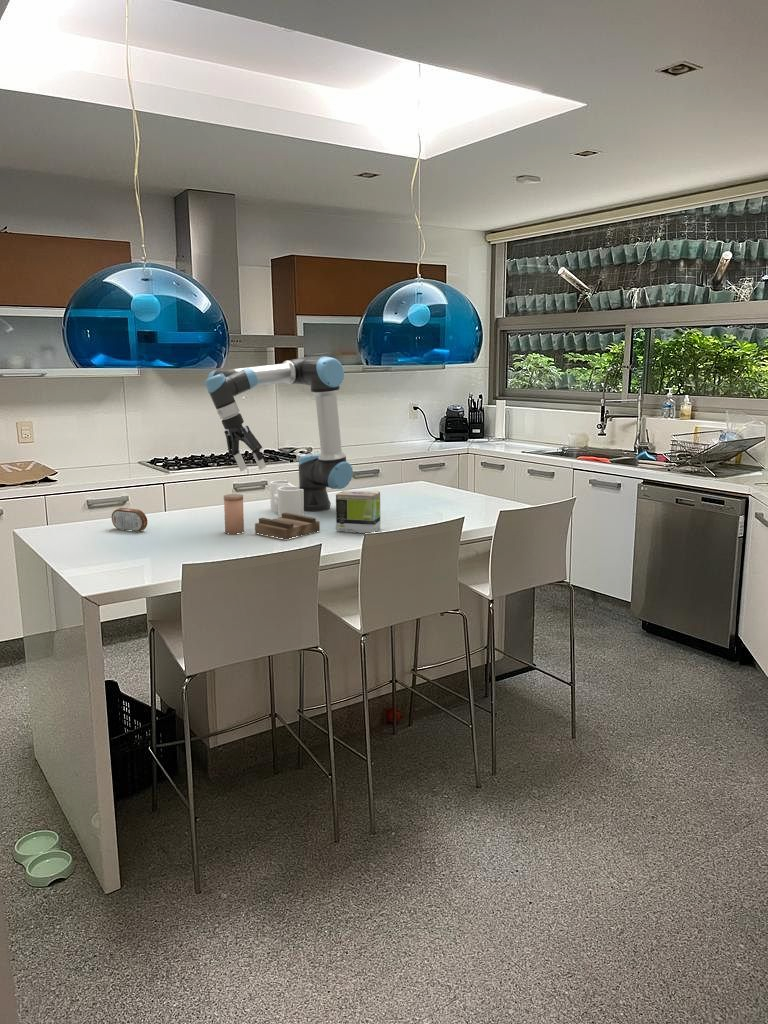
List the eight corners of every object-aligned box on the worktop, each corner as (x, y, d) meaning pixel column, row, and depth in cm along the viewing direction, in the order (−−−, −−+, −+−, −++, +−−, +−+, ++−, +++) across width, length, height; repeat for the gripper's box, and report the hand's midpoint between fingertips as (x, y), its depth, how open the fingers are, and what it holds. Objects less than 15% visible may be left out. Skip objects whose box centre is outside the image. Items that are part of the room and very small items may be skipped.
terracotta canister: (235, 529, 306) (234, 493, 303) (248, 532, 302) (247, 495, 299) (220, 532, 300) (219, 496, 297) (233, 535, 296) (232, 498, 293)
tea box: (380, 528, 308) (381, 491, 305) (373, 534, 299) (373, 495, 296) (343, 526, 312) (343, 489, 309) (335, 532, 303) (335, 493, 299)
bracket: (267, 509, 344) (266, 481, 341) (289, 507, 347) (288, 479, 345) (281, 520, 321) (281, 491, 319) (305, 519, 325) (304, 489, 322)
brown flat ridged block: (289, 525, 312) (288, 511, 311) (319, 531, 303) (319, 517, 302) (255, 533, 298) (254, 519, 297) (285, 540, 289) (285, 525, 288)
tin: (148, 531, 302) (147, 509, 300) (143, 533, 299) (141, 511, 297) (116, 528, 307) (115, 506, 305) (110, 529, 304) (109, 508, 302)
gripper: (205, 423, 299) (228, 474, 305) (239, 416, 280) (263, 471, 286) (221, 415, 304) (244, 466, 310) (256, 408, 285) (279, 463, 291)
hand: (253, 469), depth 298 cm, fingers open, 13 cm apart
